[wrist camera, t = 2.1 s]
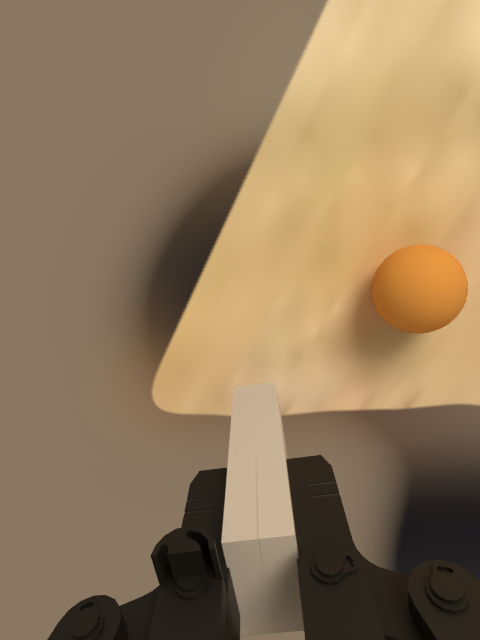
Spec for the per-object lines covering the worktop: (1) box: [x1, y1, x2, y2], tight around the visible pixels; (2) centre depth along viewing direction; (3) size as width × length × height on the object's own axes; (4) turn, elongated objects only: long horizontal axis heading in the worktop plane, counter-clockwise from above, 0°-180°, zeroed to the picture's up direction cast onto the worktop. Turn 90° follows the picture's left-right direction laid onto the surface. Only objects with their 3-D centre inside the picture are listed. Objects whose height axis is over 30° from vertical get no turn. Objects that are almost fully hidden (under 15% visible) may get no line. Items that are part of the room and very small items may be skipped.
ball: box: [372, 245, 468, 333], centre depth 26 cm, size 6×6×6 cm
